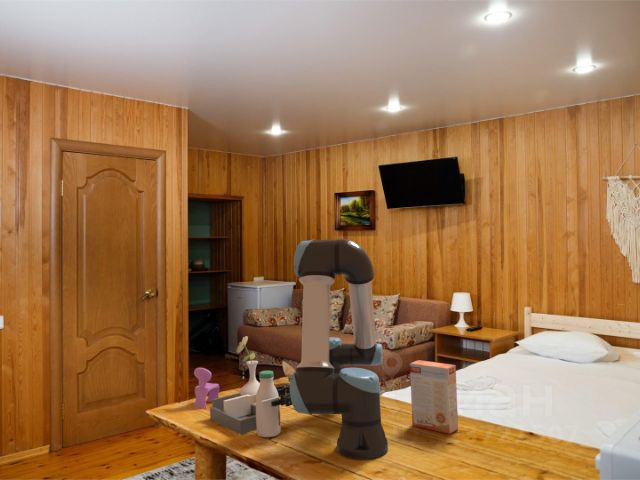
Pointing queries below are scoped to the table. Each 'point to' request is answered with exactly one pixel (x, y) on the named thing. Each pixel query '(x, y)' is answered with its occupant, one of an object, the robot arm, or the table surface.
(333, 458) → the table surface
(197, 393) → the toy chair
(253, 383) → the flower in vase
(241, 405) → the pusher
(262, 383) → the milk bottle
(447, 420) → the cracker box
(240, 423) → the grey tray
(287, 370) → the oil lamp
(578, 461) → the table surface
